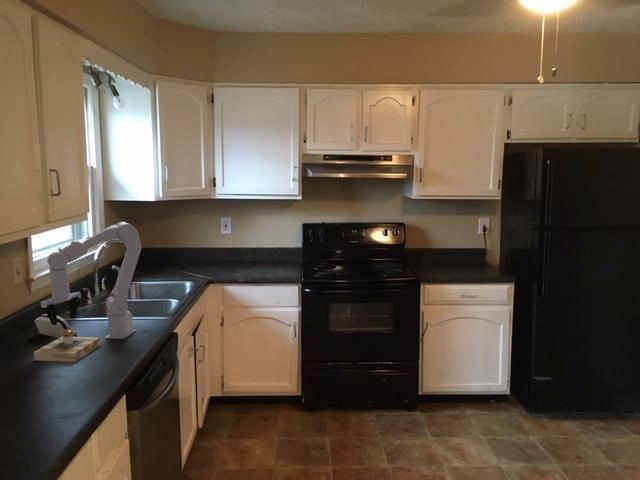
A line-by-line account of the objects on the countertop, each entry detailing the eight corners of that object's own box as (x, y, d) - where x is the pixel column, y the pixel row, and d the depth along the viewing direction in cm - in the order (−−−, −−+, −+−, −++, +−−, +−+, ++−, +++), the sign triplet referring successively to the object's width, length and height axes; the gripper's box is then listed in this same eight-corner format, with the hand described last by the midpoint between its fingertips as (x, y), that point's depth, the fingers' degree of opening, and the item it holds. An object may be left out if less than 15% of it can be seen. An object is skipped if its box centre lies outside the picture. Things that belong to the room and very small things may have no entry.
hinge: (78, 335, 193) (68, 314, 188) (68, 343, 189) (57, 322, 185) (51, 329, 200) (41, 309, 196) (41, 336, 197) (30, 316, 192)
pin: (68, 350, 177) (65, 328, 176) (78, 350, 177) (75, 329, 175) (61, 354, 173) (58, 332, 172) (71, 355, 173) (68, 332, 172)
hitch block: (63, 344, 184) (62, 335, 183) (100, 345, 182) (99, 336, 181) (34, 360, 169) (33, 351, 168) (75, 361, 167) (74, 352, 166)
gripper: (48, 291, 170) (52, 329, 172) (85, 281, 183) (88, 317, 185) (35, 289, 173) (39, 326, 175) (72, 280, 186) (76, 314, 188)
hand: (63, 321), depth 180 cm, fingers open, 7 cm apart
